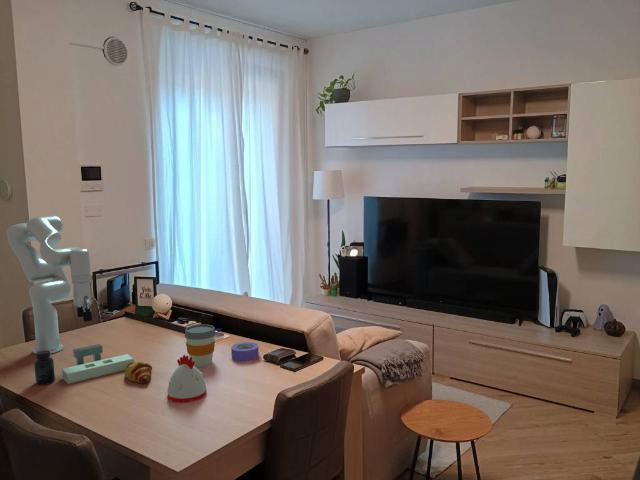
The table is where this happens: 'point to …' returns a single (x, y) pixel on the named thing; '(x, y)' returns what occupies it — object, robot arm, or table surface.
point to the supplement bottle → (44, 368)
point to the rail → (96, 368)
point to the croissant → (138, 372)
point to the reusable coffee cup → (200, 344)
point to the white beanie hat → (186, 382)
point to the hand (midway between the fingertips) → (84, 318)
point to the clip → (87, 353)
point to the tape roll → (245, 351)
